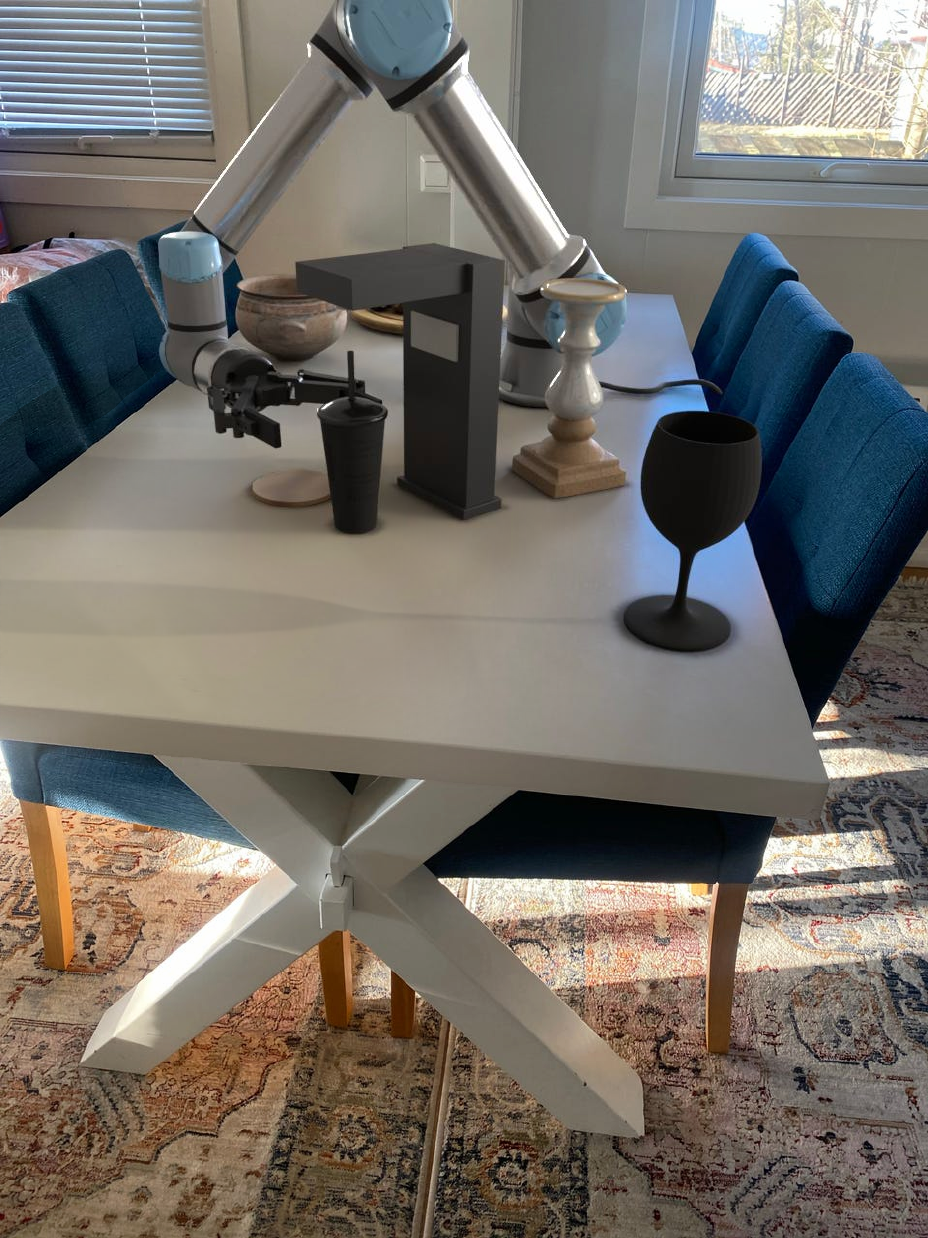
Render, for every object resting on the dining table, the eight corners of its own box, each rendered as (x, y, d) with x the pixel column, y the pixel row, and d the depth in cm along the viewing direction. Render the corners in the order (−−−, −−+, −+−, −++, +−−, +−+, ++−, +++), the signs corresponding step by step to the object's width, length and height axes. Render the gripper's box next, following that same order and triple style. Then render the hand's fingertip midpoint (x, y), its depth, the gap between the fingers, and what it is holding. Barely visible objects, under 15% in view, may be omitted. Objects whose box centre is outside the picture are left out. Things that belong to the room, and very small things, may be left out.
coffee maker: (433, 474, 126) (436, 241, 111) (501, 507, 117) (513, 260, 103) (303, 513, 115) (287, 259, 100) (367, 552, 106) (360, 281, 92)
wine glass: (612, 598, 99) (635, 407, 88) (712, 596, 100) (746, 407, 89) (636, 654, 90) (665, 448, 80) (746, 651, 91) (787, 447, 80)
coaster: (341, 474, 125) (341, 470, 125) (332, 507, 116) (332, 503, 116) (260, 472, 125) (260, 468, 125) (245, 505, 116) (245, 501, 116)
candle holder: (554, 499, 120) (569, 300, 108) (509, 468, 128) (519, 280, 116) (626, 485, 124) (649, 292, 112) (579, 456, 133) (595, 274, 121)
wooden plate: (416, 293, 217) (416, 254, 212) (537, 316, 201) (540, 274, 197) (316, 319, 194) (314, 276, 190) (444, 347, 178) (445, 301, 174)
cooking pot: (243, 338, 181) (237, 269, 174) (346, 337, 183) (343, 269, 177) (234, 377, 159) (227, 301, 153) (350, 376, 162) (348, 300, 156)
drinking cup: (378, 543, 108) (375, 364, 98) (313, 535, 109) (303, 358, 99) (396, 515, 115) (395, 344, 105) (334, 508, 116) (327, 339, 106)
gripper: (322, 389, 132) (418, 433, 118) (147, 425, 118) (233, 480, 104) (319, 333, 128) (418, 371, 114) (139, 364, 114) (227, 412, 100)
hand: (330, 423), depth 109 cm, fingers open, 13 cm apart
